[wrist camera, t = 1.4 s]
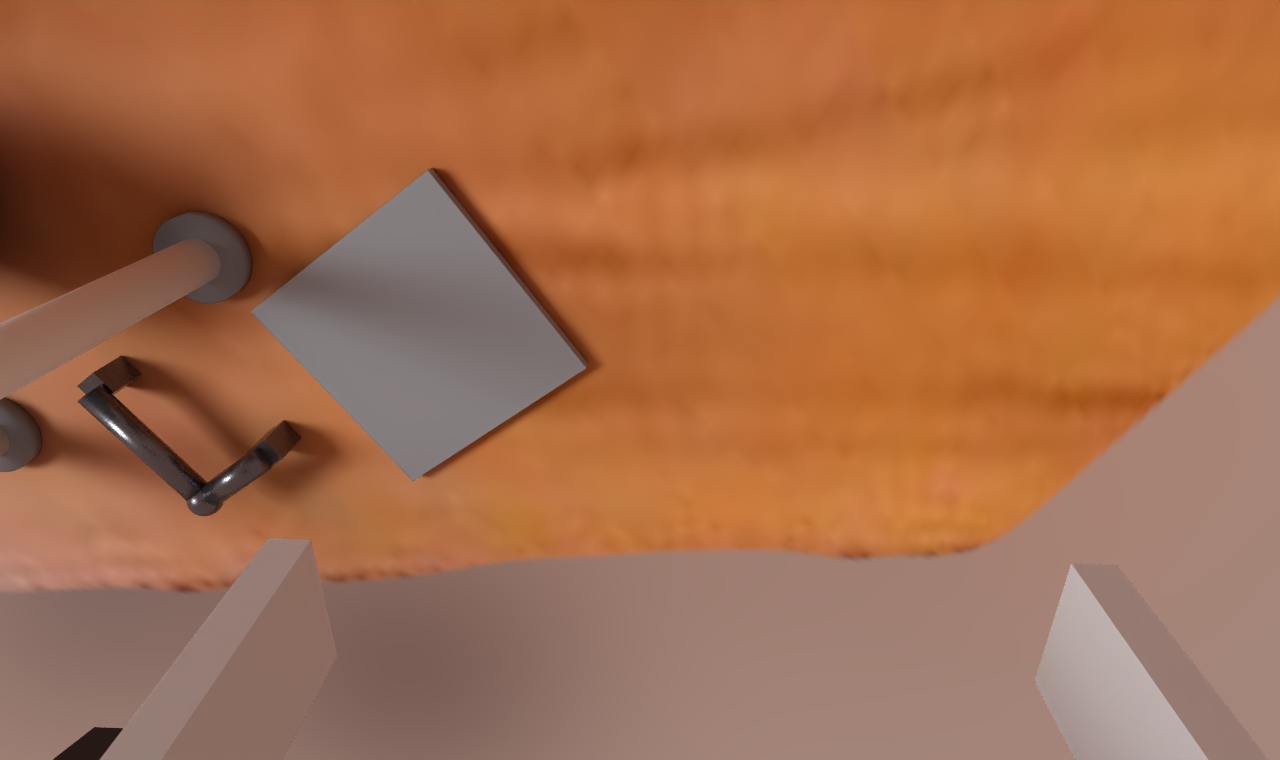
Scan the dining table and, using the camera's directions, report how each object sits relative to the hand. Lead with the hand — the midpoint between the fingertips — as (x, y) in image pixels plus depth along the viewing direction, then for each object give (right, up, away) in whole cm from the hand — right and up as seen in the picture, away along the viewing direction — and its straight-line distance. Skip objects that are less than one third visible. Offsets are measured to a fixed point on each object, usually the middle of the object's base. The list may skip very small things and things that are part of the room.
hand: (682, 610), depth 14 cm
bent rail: (-22, +3, +25) cm, 33 cm away
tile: (-11, +6, +23) cm, 26 cm away
